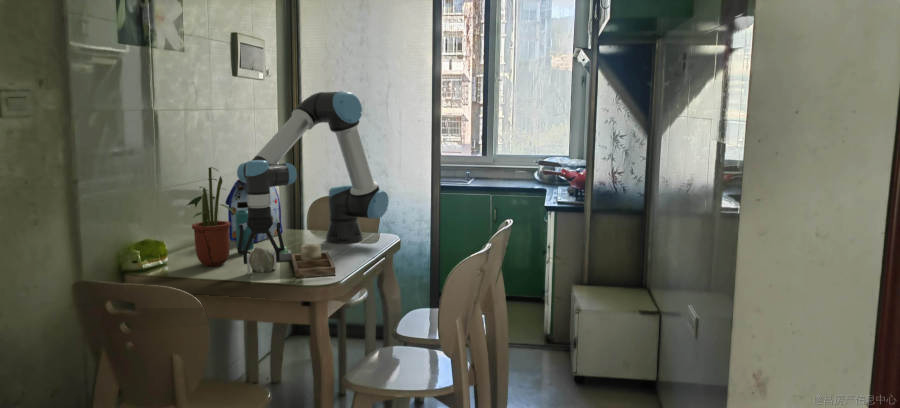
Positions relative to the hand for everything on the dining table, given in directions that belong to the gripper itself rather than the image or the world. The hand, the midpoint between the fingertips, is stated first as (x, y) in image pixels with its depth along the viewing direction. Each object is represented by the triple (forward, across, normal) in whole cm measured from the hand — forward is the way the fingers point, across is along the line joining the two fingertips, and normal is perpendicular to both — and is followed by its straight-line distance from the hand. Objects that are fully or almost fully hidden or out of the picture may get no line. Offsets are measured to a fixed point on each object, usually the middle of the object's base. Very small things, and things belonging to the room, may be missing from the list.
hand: (262, 272), depth 237 cm
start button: (-1, -7, -16) cm, 18 cm away
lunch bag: (0, +2, -67) cm, 67 cm away
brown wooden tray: (0, -17, 0) cm, 17 cm away
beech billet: (-1, -17, -6) cm, 18 cm away
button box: (0, -7, -16) cm, 18 cm away
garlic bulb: (0, 0, 0) cm, 0 cm away
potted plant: (0, +16, -16) cm, 23 cm away
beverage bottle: (0, +6, -36) cm, 37 cm away
